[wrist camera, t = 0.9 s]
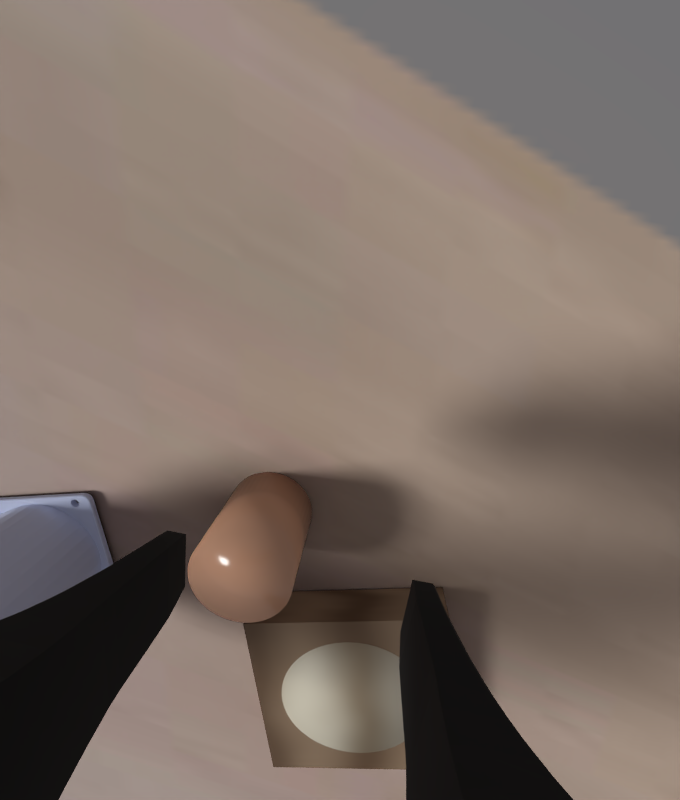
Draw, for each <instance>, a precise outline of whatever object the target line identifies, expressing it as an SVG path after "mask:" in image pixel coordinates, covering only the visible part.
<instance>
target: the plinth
mask: <svg viewBox="0 0 680 800" xmlns="http://www.w3.org/2000/svg"><path fill="white" fill-rule="evenodd" d="M435 588H436V590H437V592H438V595H439V597H440V599H441V602H442V604H443V606H444V608H445V610H446V613H447V615H448V610H447V606H446V602H445V597H444V593H443V588H442V587H435ZM410 589H411V588H399V589H364V590H328V591H293V592H292V594H291V597H290V599H289V601H288V603H287V604H286V606H285V607H284V608H283V609H282V610H281V611H280V612H279V613H278V614H276V615H275V616H273V617H271V618H269V619H266V620H263V621H259V622H252V623H243V625H244V630H245V634H246V639H247V644H248V649H249V653H250V658H251V663H252V668H253V672H254V677H255V682H256V686H257V691H258V696H259V701H260V705H261V710H262V715H263V720H264V724H265V729H266V734H267V739H268V743H269V748H270V753H271V757H272V762H273V767H306V768H358V769H406V755H405V742H404V728H403V715H402V701H401V687H400V672H399V657H400V631H401V626H402V622H403V618H404V614H405V610H406V605H407V601H408V597H409V593H410ZM448 617H449V615H448Z"/></svg>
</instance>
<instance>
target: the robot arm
mask: <svg viewBox="0 0 680 800" xmlns="http://www.w3.org/2000/svg"><path fill="white" fill-rule="evenodd" d="M76 500H77V501H78V502H79V503H77V502H76ZM185 550H186V534H181V533H176V532H171V531H166V532H164V533H163V534H161V535H159V536H158V537H156V538H154V539H153V540H151V541H150V542H148V543H146V544H145V545H143V546H142V547H140V548H138V549H137V550H135V551H134V552H132V553H130V554H129V555H127V556H125V557H124V558H122V559H120V560H119V561H117V562H115V563H114V564H113V561H112V558H111V554H110V551H109V548H108V545H107V541H106V538H105V535H104V532H103V528H102V525H101V522H100V518H99V515H98V512H97V509H96V505H95V502H94V499H93V497H92V496H91V495H90V494H88V493H72V494H55V495H38V496H20V497H3V498H0V800H59V798H60V796H61V794H62V792H63V790H64V788H65V786H66V784H67V782H68V781H69V779H70V777H71V775H72V773H73V771H74V769H75V768H76V766H77V764H78V762H79V760H80V758H81V756H82V755H83V753H84V751H85V749H86V747H87V745H88V744H89V742H90V740H91V738H92V736H93V735H94V733H95V731H96V729H97V728H98V726H99V724H100V722H101V721H102V719H103V717H104V715H105V713H106V712H107V710H108V708H109V706H110V705H111V703H112V702H113V700H114V698H115V697H116V695H117V694H118V692H119V691H120V689H121V688H122V686H123V685H124V683H125V682H126V680H127V679H128V677H129V676H130V674H131V673H132V671H133V670H134V668H135V667H136V665H137V664H138V662H139V661H140V660H141V658H142V657H143V655H144V654H145V652H146V651H147V649H148V648H149V646H150V645H151V643H152V642H153V640H154V639H155V637H156V636H157V634H158V633H159V631H160V630H161V628H162V627H163V625H164V624H165V622H166V621H167V619H168V618H169V616H170V614H171V612H172V610H173V608H174V607H175V605H176V603H177V601H178V599H179V597H180V595H181V593H182V591H183V589H184V587H185ZM399 672H400V687H401V701H402V715H403V728H404V742H405V755H406V800H573V799H572V798H571V796H570V795H569V794H568V793H567V792H566V791H565V790H564V789H563V787H562V786H561V785H560V784H559V783H558V782H557V781H556V779H555V778H554V777H553V776H552V775H551V773H550V772H549V771H548V770H547V768H546V767H545V766H544V765H543V763H542V762H541V761H540V760H539V758H538V757H537V756H536V755H535V753H534V752H533V751H532V750H531V748H530V747H529V746H528V745H527V743H526V742H525V741H524V740H523V738H522V737H521V735H520V734H519V733H518V731H517V730H516V729H515V727H514V726H513V724H512V723H511V722H510V720H509V719H508V717H507V716H506V715H505V713H504V712H503V710H502V709H501V707H500V706H499V704H498V703H497V701H496V700H495V698H494V697H493V695H492V694H491V692H490V691H489V689H488V687H487V686H486V684H485V683H484V681H483V679H482V678H481V676H480V674H479V673H478V671H477V669H476V668H475V666H474V664H473V662H472V661H471V659H470V657H469V655H468V654H467V652H466V650H465V648H464V646H463V644H462V642H461V641H460V639H459V637H458V635H457V633H456V631H455V629H454V627H453V625H452V623H451V621H450V619H449V617H448V615H447V613H446V610H445V608H444V606H443V604H442V602H441V599H440V597H439V595H438V592H437V590H436V588H435V586H434V585H433V584H431V583H426V582H421V581H416V580H412V584H411V589H410V593H409V597H408V601H407V605H406V610H405V614H404V618H403V622H402V626H401V631H400V657H399Z"/></svg>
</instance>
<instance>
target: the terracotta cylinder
mask: <svg viewBox="0 0 680 800" xmlns="http://www.w3.org/2000/svg"><path fill="white" fill-rule="evenodd" d="M311 518H312V507H311V502H310V500H309V497H308V495H307V493H306V492H305V491H304V489H303V488H302V487H301V486H300V485H299V484H298V483H297V482H295V481H294V480H292V479H291V478H289V477H287V476H285V475H282V474H278V473H272V472H263V473H257V474H254V475H251V476H249V477H247V478H246V479H244V480H243V481H242V482H241V483H240V484H239V485H238V486H237V487H236V489H235V490H234V492H233V493H232V495H231V496H230V498H229V499H228V501H227V502H226V504H225V505H224V507H223V508H222V510H221V511H220V513H219V514H218V516H217V517H216V519H215V520H214V522H213V523H212V525H211V526H210V528H209V529H208V531H207V532H206V534H205V535H204V537H203V538H202V540H201V541H200V543H199V544H198V546H197V547H196V549H195V550H194V552H193V553H192V555H191V557H190V560H189V563H188V580H189V584H190V587H191V589H192V591H193V593H194V594H195V596H196V598H197V599H198V600H199V601H200V602H201V603H202V604H203V605H204V606H205V607H206V608H207V609H208V610H210V611H211V612H213V613H214V614H216V615H218V616H220V617H222V618H225V619H228V620H231V621H235V622H242V623H252V622H259V621H263V620H266V619H269V618H271V617H273V616H275V615H276V614H278V613H279V612H280V611H281V610H282V609H283V608H284V607H285V606H286V604H287V603H288V601H289V599H290V597H291V594H292V590H293V586H294V582H295V579H296V575H297V571H298V567H299V564H300V560H301V556H302V552H303V548H304V545H305V541H306V537H307V533H308V529H309V526H310V522H311Z"/></svg>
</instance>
